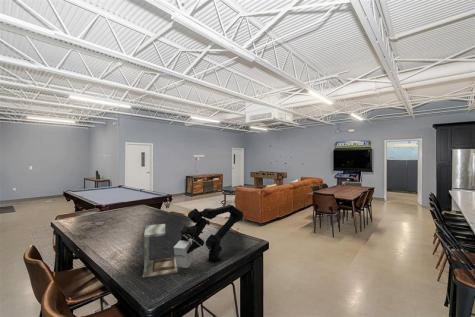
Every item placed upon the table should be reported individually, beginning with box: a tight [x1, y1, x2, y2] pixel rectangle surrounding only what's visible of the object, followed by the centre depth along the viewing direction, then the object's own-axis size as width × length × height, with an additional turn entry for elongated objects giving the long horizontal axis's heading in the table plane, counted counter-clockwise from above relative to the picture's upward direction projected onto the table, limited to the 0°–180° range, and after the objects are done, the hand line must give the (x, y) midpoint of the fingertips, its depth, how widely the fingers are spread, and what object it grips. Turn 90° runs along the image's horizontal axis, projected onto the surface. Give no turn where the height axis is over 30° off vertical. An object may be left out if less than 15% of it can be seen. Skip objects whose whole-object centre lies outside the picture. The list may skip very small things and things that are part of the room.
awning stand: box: [142, 223, 178, 278], centre depth 136 cm, size 18×18×23 cm
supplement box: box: [173, 239, 194, 269], centre depth 130 cm, size 7×7×13 cm
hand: (183, 250), depth 130 cm, fingers closed on supplement box, 9 cm apart
